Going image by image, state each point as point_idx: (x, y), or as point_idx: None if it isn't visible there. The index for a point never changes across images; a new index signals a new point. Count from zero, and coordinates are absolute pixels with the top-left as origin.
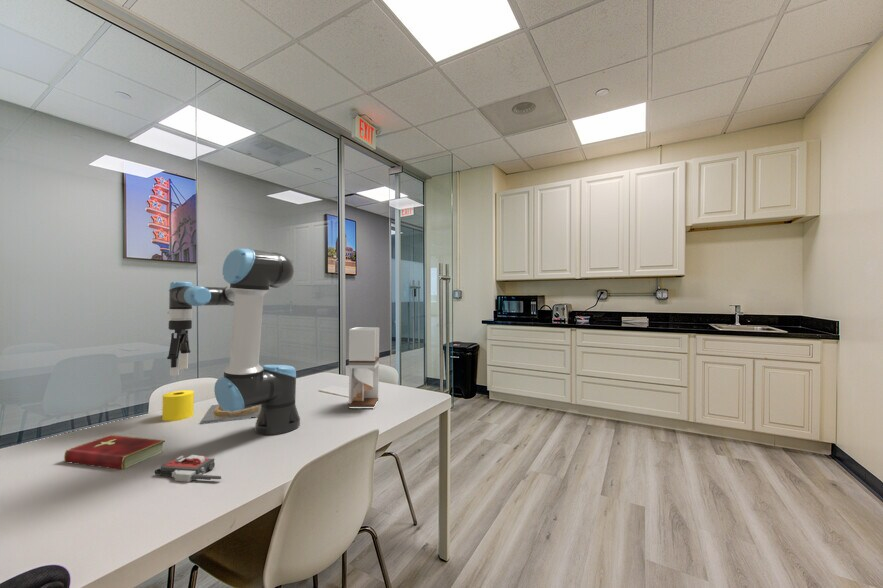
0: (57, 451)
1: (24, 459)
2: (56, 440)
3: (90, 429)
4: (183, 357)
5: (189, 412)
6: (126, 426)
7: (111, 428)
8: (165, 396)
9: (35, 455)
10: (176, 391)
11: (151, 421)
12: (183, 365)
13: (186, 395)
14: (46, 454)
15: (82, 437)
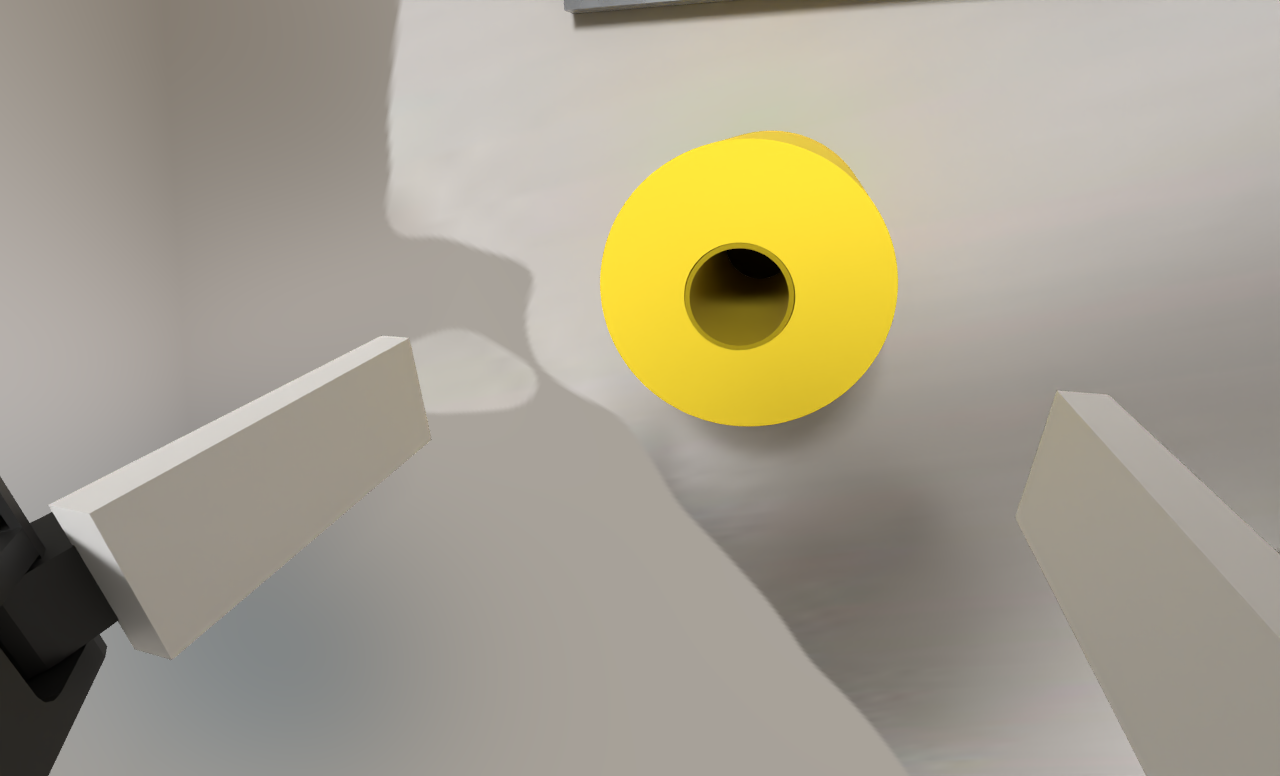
0: None
1: None
2: (926, 708)
3: (802, 625)
4: (241, 520)
5: (827, 149)
6: (841, 499)
7: (840, 555)
8: (829, 398)
9: None
10: (630, 335)
11: None
12: (378, 419)
13: (864, 194)
14: None
15: (946, 640)
